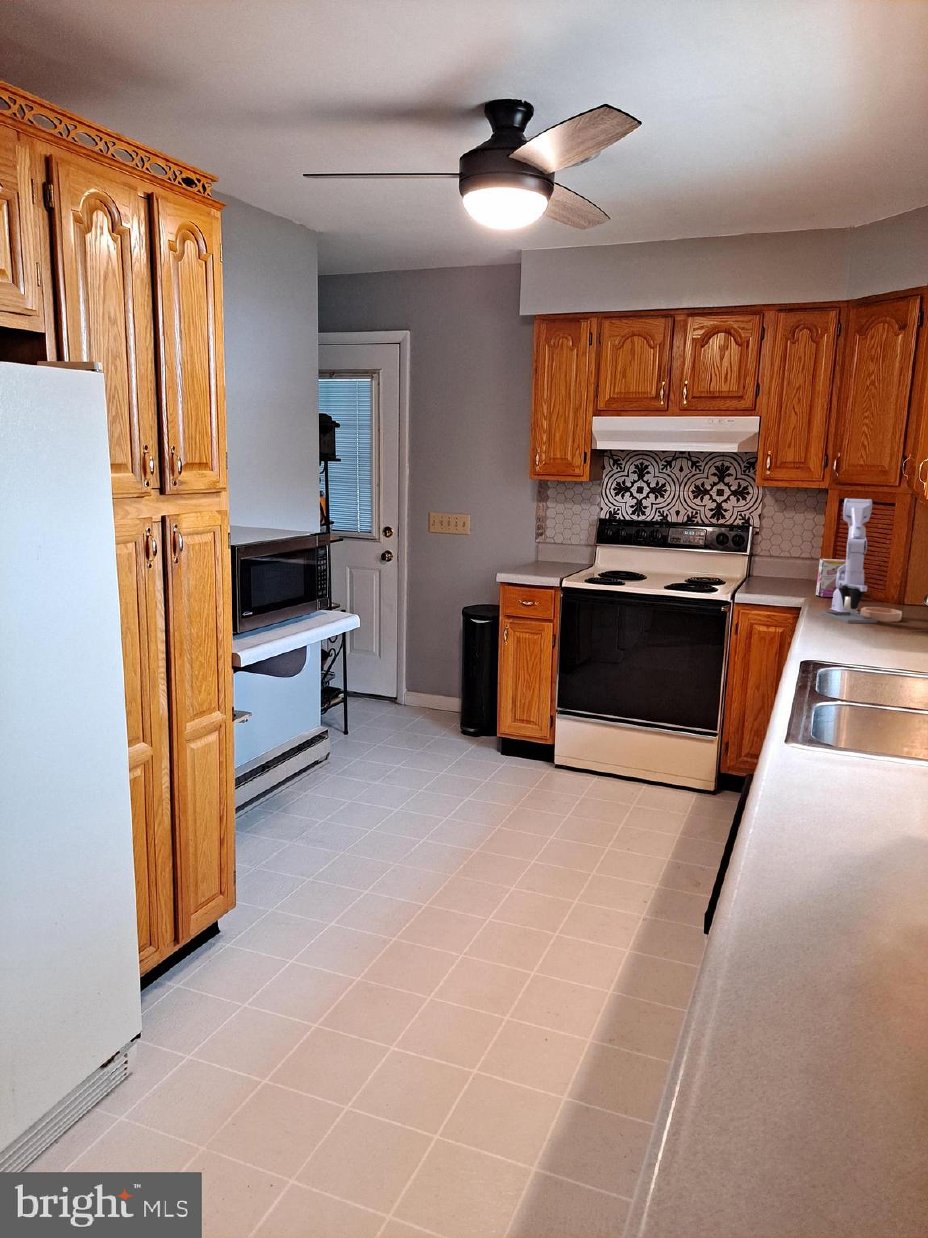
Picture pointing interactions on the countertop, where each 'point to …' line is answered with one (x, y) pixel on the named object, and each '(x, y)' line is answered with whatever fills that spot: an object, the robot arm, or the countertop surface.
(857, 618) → the parts tray
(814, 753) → the countertop surface
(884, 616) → the terracotta bowl
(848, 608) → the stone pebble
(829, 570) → the candy bar box
